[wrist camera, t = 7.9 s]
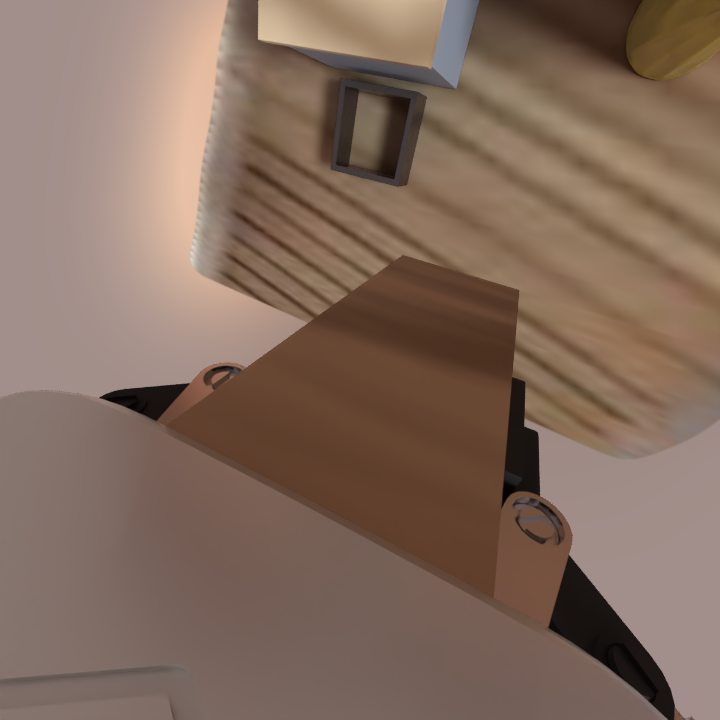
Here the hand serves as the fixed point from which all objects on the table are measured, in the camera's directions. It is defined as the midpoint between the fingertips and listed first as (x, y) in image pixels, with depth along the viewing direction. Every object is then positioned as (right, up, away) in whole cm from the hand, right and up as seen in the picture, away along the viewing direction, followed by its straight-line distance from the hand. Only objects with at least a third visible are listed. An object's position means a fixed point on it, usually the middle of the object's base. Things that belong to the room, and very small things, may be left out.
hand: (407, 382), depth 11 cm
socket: (+1, +23, +23) cm, 32 cm away
